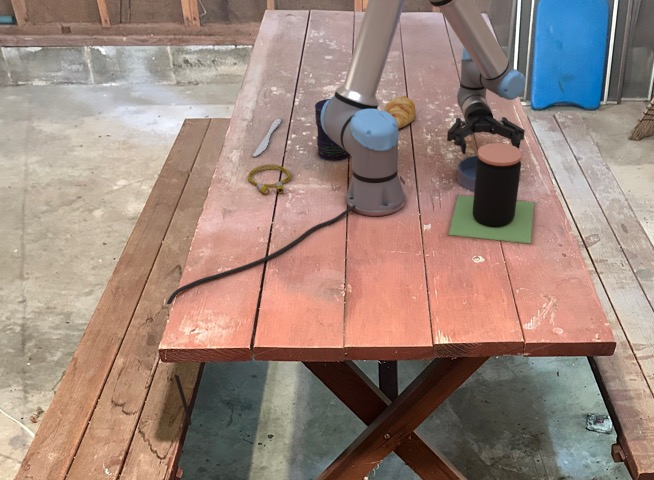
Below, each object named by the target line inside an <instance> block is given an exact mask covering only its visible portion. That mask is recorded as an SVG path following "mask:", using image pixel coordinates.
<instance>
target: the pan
mask: <svg viewBox="0 0 654 480" xmlns="http://www.w3.org/2000/svg"><path fill="white" fill-rule="evenodd" d="M478 158H479V157H478V154H475V155H471V156H467V157H464V158H463V159H461V160H460V162H458V165H457V182H458V183H459V184H460V186H462V187H463V188H465V189H467V190H469V191H472V192H474V190H475V178H476V166H477V159H478Z"/></svg>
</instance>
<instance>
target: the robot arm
mask: <svg viewBox="0 0 654 480" xmlns="http://www.w3.org/2000/svg"><path fill="white" fill-rule="evenodd" d="M406 1H407V0H368V1H367V4H366V7H365V12H364V15H363V16H362V17H363V18H362V20H361V24H360V28H359V31H358V33H357V38H356V42H355V45H354V47H353V52H352V55H351V58H350V62H349V65H348V68H347V72H346V74H345V79H344V81H343V84H342V85H341V86H339V87H337V88H336V89H335V92H334V94H333V96H331V97H330V98H329V99H330V100H327V102H326V103H325V104H324V106H323V108H322V111H321V125H322V128H323V130H324V132H325V133H326V134H327V135H328V136H329V138H330V139H331V140H332V141H333V142H335V143H336V144H338V145H339V146H340V147H342V148H343V149H344V150H345V151H346V152H348V153H349V154H350V157H351V168H352V176H351V179H350V183H349V186H348V189H347V192H346V198H345V199H346V205H347V207H348V208H347V209H345V210H344V211H342V212H341V213H340V214H338V215H337V216H335V217H334V218H332V219H329V220H327V221H323V222H321V223H319V224H316V225H314V226H312V227H310V228H308V229H307V230H306V231H305V232H303V233H302V234H301V235H300V236H298V237H297V238H296V239H294V240H292V242H290V243H288V244H287V245H285V246H284V247H282V248H280V249H278V250H276V251H274V252H273V253H270V254H269V255H267V256H264V257H262V258H260V259H257V260H255V261H252V262H249V263H246V264H244V265H241V266H238V267H235V268H232V269H229V270H226V271H223V272H219V273H217V274H213V275H209V276H206V277H203V278H200V279H197V280H194V281H192V282H190V283H188V284H186V285H183V286H180V287H178V288H177V289H176V290H174V291H173V292H172V294H171V295H169V298H168V300H167V302H166V305H171V304H172V303H173V301H174V299H175V298H176V297H177V296H178V295H179V294H180V293H182V292H184V291H186V290H188V289H191V288H193V287H194V286H197V285H199V284H203V283H206V282H208V281H212V280H216V279H219V278H222V277H225V276H228V275H231V274H234V273H239V272H241V271H244V270H247V269H250V268H252V267H255V266H257V265H260V264H262V263H264V262H267V261H268V260H270V259H273V258H275V257H276V256H279V255H281V254H282V253H284V252H286V251H287V250H289V249H290V248H292V247H294V246H295V245H298V243H299V242H301V241H302V240H303V239H305V238H306V237H307V236H308V235H309V234H311V233H312V232H314V231H316V230H318V229H320V228H322V227H323V228H324V227H325V226H328V225H331V224H332V223H335V222H337V221H339V220H340V219H342V218H343V217H344V216H346V215H348V214H349V213H350V212H354V213H356V214H358V215H362V216H367V217H383V216H389V215H392V214H394V213H396V212H398V211H400V210H401V209H402V208H403V207H404V205H405V192H404V190H403V187H402V184H403V185H404V186H406V181H405V180H404V179H403V177H402V176H401V175H398V172H399V169H398V168H399V138H400V133H399V129H398V125H397V121H396V120H395V118H394V117H393V116H392V115H391V114H389V113H388V112H385V111H384V109H383V110H379V109H378V108H379V105H380V102H379V101H378V99H377V95H376V94H377V91H378V88H379V85H380V82H381V79H382V76H383V73H384V69H385V66H386V63H387V61H388V57H389V53H390V51H391V48H392V44H393V42H394V41H393V40H394V38H395V34H396V31H397V28H398V25H399V23H400V19H401V15H402V12H403V10H404V7H405V4H406ZM428 1H429V3H430V4H431V5H432V6H433V7H434V8H438V9H439V10H440V12H441V13H442V15H443V17H444V18H445V20H446V21H447V23H448V24H449V26H450V28H451V29H452V31H453V32H454V34H455V35H456V37H457V38H458V40H459V41H460V43H461V44H462V46H463V49H462V57H461V59H460V61H461V66H460V67H461V68H460V70H461V71H460V81H459V83H460V84H459V88H458V90H457V93H456V98H457V99H456V102H457V103H458V106H459V108H460V111H461V113H462V116H463V120H462V119H461V118H460V117H456V118H455V122H454V123H453V124H452V125H451V127H450V128H449V129H448V130H447V135H446V141H447V142H452V141H453V145H455V146H457V147H459V148H460V151H461V154H462V155H466V152H467V142H466V139H465V138H467V137H468V136H473V135H474V134H481V133H488V134H491V135H498V136H501V137H503V138H506V139H508V140H510V145H512V146H515V147H517V148H518V149H520V146H521V141H523V140H524V139H525V134H526V133H525V132H526V130H525V129H524V128H522V127H520V126H519V125H517V124H515V123H513V122H512V121H510V120H508V118H507V117H505V116H503V117H501V120H497V119H496V118H495V117H494V114H493V112H492V109H491V107H490V105H489V103H488V101H487V91H490V92H491V93H492V94H495V95H496V96H498V97H499V98H503V99H505V100H508V101H512V100H515V99H518V97H519V96H521V94H522V93H523V92H524V90H525V87H526V77H525V75H524V74H523V73H522V72H520V70H518V69H515V68H514V67H513V66H512V64H511V63H510V61H509V58H508V57H507V56H506V54H505V53H504V51H503V49H502V47H501V46H500V44H499V42H498V41H497V38H496V37H495V35H494V34H493V32H492V30H491V29H490V27H489V25H488V23H487V21H486V20H485V18H484V16H483V14H482V13H481V11H480V9H479V8H478V6H477V4H476V2H475V0H428ZM401 183H402V184H401ZM174 379H175V382H176V385H177V389H178V392H179V395H180V399H181V402H182V406H183V409H184V413H185V417H186V422H187V426H191V425H192V420H191V415H190V410H189V408H188V403H187V400H186V397H185V393H184V390H183V386H182V383H181V379H180V376H179V375H177V374H174Z"/></svg>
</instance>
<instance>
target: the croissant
mask: <svg viewBox="0 0 654 480" xmlns="http://www.w3.org/2000/svg"><path fill="white" fill-rule="evenodd" d="M383 111H385V112H388V113H389V114H391V115H392V116H393V117H394V118H395V120H396V121H397V125H398V130H399V129H402V128H404V127H406V126H407V125H409V124H411V123H412V122H414V121H415V119H416V105H415V102H414V101H413V99H411V98H409V97H407V96H398V97H395V98H392V99H390V100H389V101H388V102H387V103H386V105H385V106H384V108H383Z"/></svg>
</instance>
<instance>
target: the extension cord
mask: <svg viewBox="0 0 654 480" xmlns="http://www.w3.org/2000/svg"><path fill="white" fill-rule="evenodd" d="M267 170H277V171H282V172H284V173H286V175H287V177H285V178H284V179H282V180H280V181H277V182H276V183H275V182H274V183H270V184H269V183H260V182H257V181H254V179H253V178H252V176H253V175H254V174H256V173H259V172H262V171H267ZM291 179H292V178H291V173H289V171H288V170H287V168H285V167H283V166H281V165H279V164H273V163H269V164H268V163H267V164H262V165H258V166H257V167H255V168H253V169H252V170H251V171H249V173H248V175H247V180H248V181H249V182H250V183H252V184H253V185H255V186H256V187H257V189H258V190H259V191H260V192H261V193H262V194H264V195H268V194H270V192H271V190H270V189H269V188H275V187H276V191H277V193H278V194H283V193H284V184H285V183H288V182H289V181H291Z"/></svg>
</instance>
